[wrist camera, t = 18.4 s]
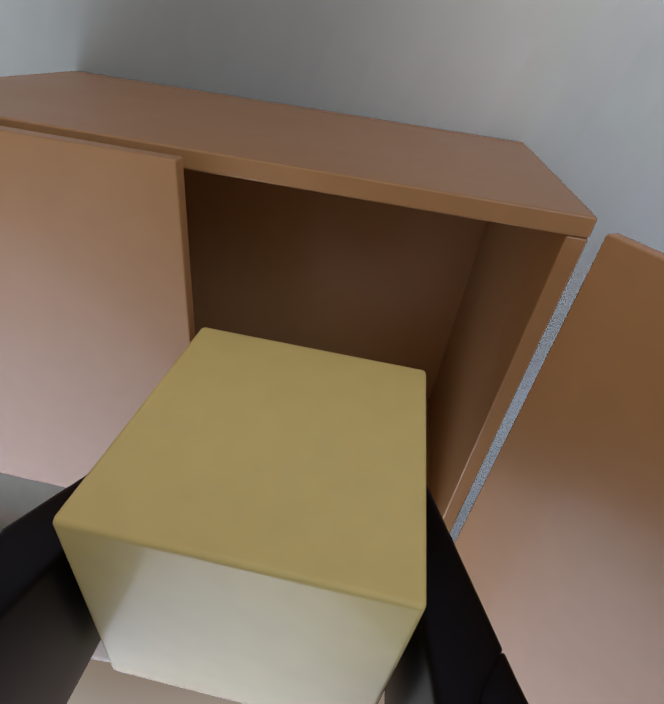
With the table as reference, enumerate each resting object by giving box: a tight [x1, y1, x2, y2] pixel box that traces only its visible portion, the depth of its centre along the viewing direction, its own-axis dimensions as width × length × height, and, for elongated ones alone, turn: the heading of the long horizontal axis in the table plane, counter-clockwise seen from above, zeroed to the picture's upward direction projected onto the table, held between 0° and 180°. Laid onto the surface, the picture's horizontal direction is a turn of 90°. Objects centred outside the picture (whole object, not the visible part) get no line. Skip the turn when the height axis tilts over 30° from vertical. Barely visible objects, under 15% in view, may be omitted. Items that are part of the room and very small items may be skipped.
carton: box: [0, 71, 597, 533], centre depth 14 cm, size 15×11×8 cm
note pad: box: [53, 327, 426, 704], centre depth 8 cm, size 5×5×5 cm
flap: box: [454, 234, 664, 704], centre depth 8 cm, size 7×11×1 cm
